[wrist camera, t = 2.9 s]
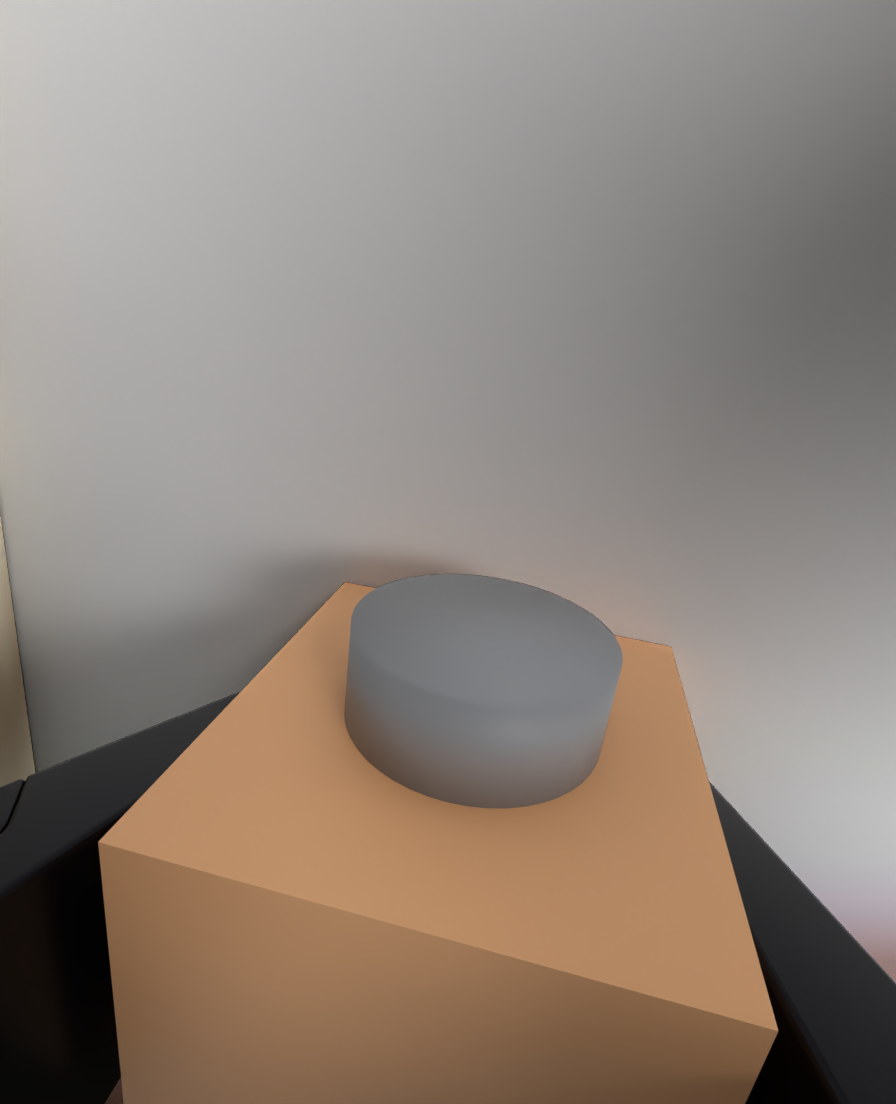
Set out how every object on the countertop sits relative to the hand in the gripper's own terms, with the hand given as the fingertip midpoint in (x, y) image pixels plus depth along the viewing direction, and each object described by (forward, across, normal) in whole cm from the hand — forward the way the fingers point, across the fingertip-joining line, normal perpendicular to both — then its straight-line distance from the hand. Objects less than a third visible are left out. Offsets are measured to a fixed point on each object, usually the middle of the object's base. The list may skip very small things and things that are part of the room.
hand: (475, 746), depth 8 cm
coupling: (+1, 0, 0) cm, 1 cm away
